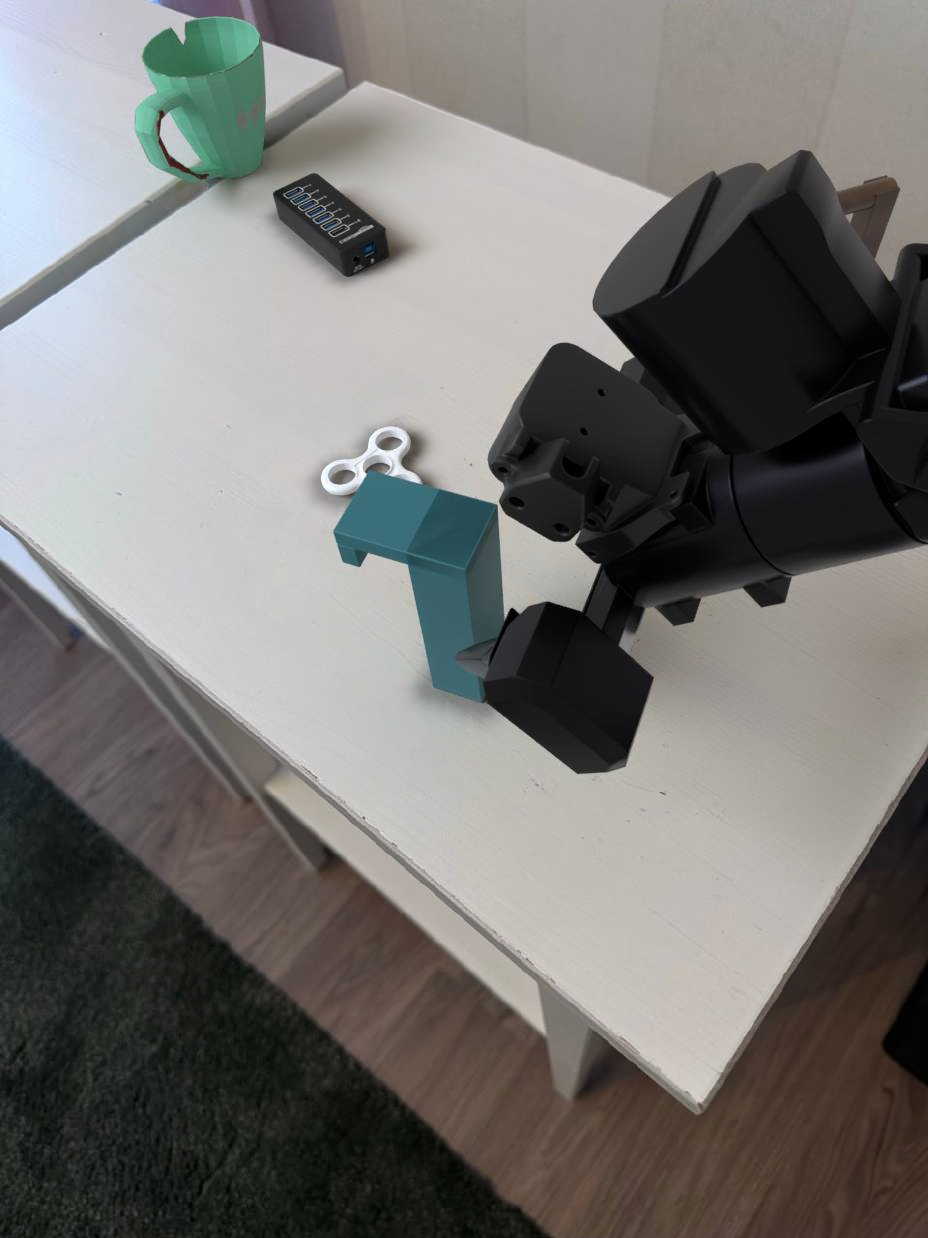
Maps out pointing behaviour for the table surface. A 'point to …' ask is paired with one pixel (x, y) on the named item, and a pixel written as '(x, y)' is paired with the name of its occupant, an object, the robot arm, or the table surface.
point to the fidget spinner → (371, 462)
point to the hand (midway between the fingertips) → (497, 585)
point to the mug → (206, 97)
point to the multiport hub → (331, 224)
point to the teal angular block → (434, 565)
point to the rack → (870, 208)
